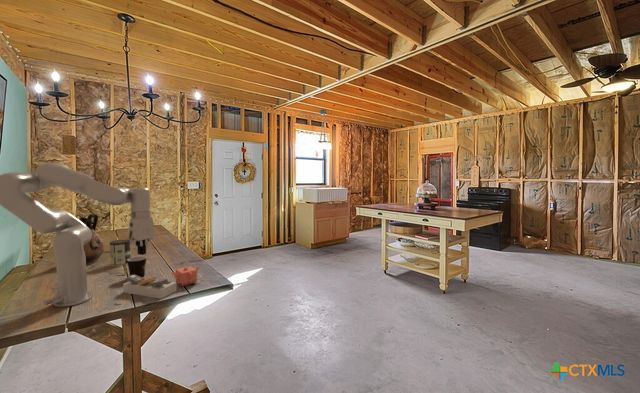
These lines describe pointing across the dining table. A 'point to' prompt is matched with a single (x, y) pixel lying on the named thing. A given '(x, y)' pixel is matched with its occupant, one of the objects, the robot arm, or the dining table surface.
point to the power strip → (150, 289)
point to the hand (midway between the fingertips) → (141, 254)
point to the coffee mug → (137, 266)
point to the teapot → (186, 275)
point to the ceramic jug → (92, 240)
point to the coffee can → (120, 252)
